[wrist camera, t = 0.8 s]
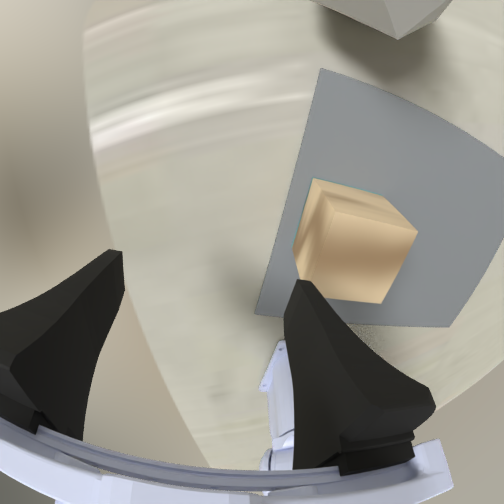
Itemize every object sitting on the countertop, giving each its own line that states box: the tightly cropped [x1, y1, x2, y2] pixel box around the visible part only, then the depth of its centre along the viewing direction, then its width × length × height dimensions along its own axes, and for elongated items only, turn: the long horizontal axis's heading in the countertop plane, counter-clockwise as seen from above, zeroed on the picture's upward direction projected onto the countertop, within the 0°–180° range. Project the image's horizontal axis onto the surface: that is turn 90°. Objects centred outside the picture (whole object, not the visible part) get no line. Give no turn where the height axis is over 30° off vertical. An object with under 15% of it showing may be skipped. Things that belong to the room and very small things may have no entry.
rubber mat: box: [255, 68, 504, 327], centre depth 22 cm, size 20×24×1 cm
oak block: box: [291, 177, 418, 304], centre depth 18 cm, size 6×6×6 cm
